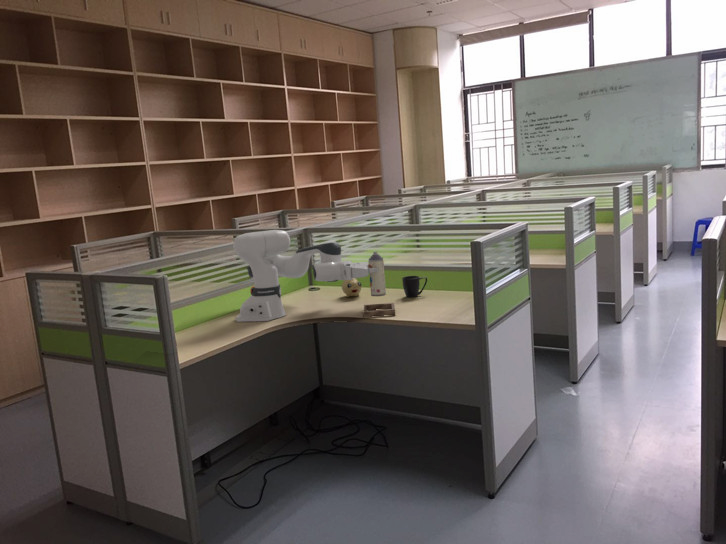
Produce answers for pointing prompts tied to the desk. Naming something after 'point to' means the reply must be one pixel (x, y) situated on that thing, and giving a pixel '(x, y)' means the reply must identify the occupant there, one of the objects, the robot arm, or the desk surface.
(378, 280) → the aerosol can
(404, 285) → the mug
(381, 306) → the frame
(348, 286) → the egg character toy
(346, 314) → the desk surface
